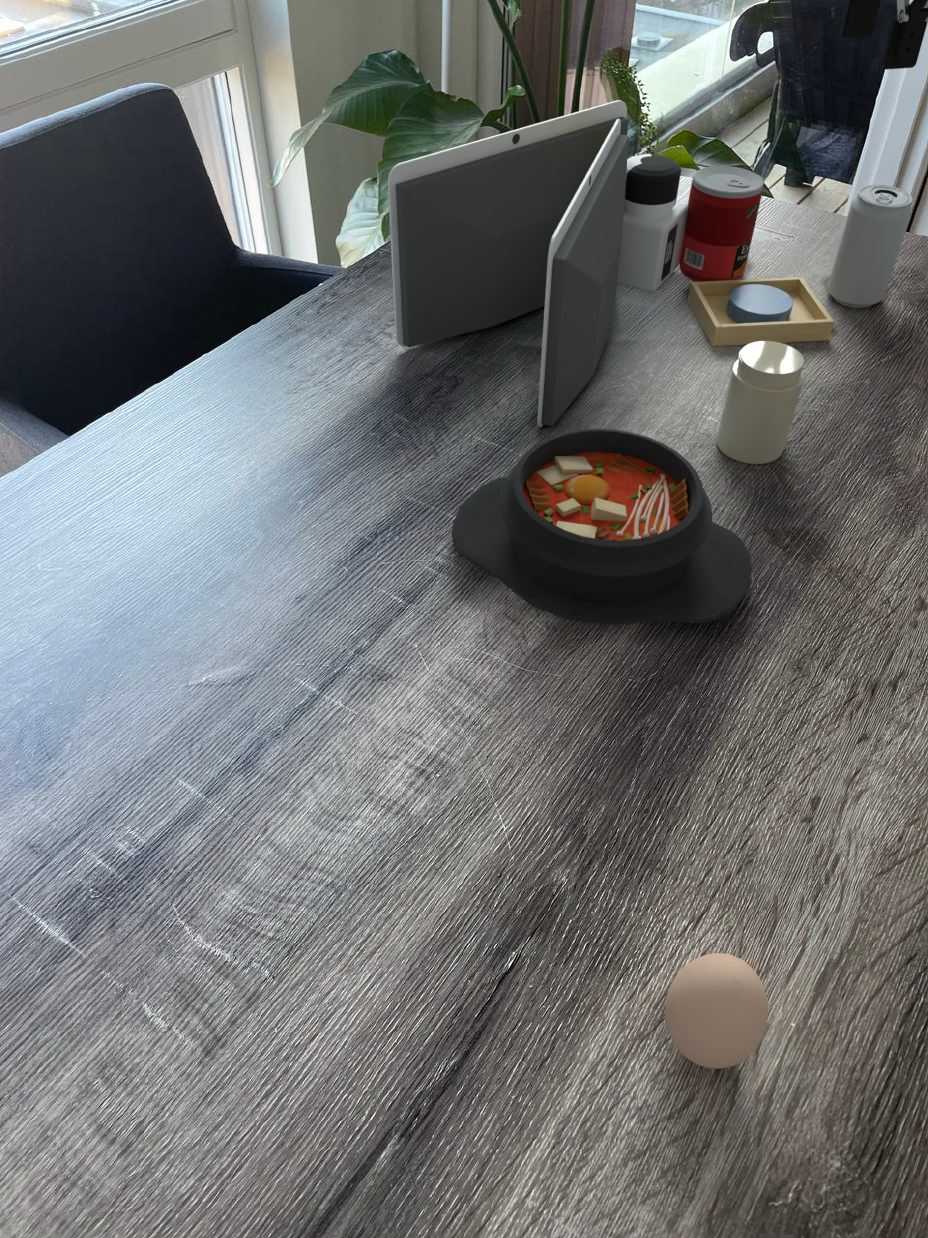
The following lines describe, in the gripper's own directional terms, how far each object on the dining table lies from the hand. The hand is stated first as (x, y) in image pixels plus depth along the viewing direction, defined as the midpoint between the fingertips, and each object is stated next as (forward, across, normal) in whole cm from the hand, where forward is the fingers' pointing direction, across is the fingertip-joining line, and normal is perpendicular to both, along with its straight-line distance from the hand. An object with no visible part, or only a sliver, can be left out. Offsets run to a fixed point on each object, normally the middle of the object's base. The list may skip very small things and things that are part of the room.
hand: (876, 51), depth 97 cm
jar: (+26, +27, -17) cm, 41 cm away
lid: (+24, +4, -8) cm, 25 cm away
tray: (+26, +4, -8) cm, 27 cm away
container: (+25, -8, -19) cm, 33 cm away
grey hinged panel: (+25, +4, -37) cm, 45 cm away
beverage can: (+26, 0, +5) cm, 27 cm away
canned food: (+26, -8, -10) cm, 29 cm away
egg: (+26, +81, -38) cm, 93 cm away
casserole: (+26, +41, -35) cm, 60 cm away
